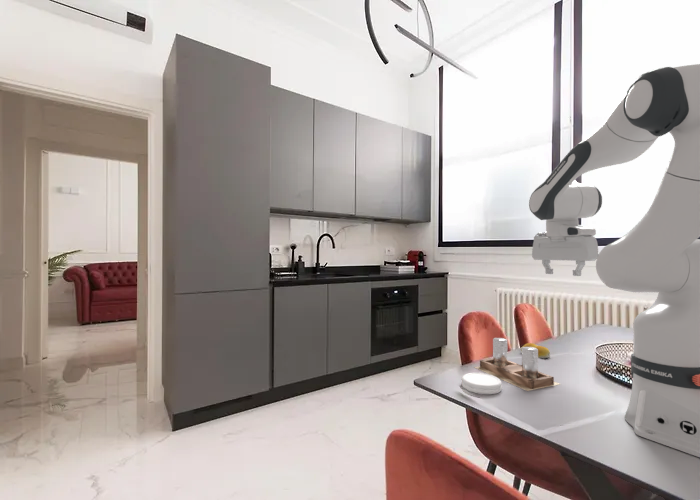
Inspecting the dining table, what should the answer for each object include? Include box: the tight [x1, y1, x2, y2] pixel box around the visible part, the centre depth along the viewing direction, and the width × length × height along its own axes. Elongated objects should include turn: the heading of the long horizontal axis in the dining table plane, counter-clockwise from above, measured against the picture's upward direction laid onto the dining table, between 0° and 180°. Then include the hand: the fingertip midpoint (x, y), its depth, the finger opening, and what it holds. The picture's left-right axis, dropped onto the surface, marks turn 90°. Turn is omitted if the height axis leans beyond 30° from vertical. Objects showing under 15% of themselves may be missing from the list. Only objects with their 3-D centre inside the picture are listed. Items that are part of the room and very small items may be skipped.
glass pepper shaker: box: [492, 337, 508, 367], centre depth 107 cm, size 4×4×9 cm
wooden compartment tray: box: [473, 357, 561, 392], centre depth 102 cm, size 20×12×3 cm, turn 21°
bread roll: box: [520, 342, 551, 359], centre depth 124 cm, size 8×9×4 cm
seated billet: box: [521, 346, 539, 379], centre depth 97 cm, size 4×4×9 cm
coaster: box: [461, 372, 503, 399], centre depth 93 cm, size 10×10×4 cm
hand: (562, 274), depth 111 cm, fingers open, 8 cm apart
